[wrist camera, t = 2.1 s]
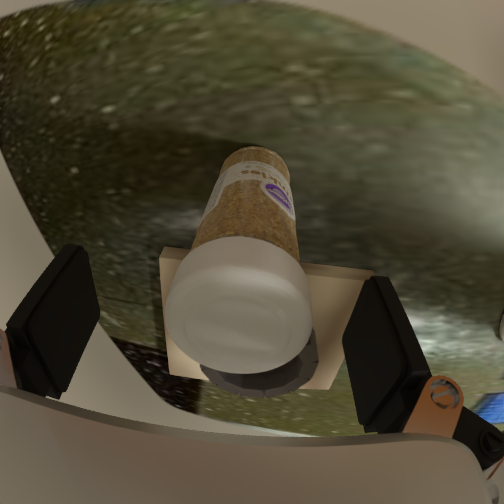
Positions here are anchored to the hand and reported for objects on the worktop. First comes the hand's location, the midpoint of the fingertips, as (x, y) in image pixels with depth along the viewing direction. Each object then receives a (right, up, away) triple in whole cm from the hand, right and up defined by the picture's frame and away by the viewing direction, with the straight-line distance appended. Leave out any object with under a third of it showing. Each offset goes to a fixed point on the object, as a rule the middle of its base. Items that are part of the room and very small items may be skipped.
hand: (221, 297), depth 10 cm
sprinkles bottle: (+1, +6, +10) cm, 12 cm away
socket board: (+2, -5, +17) cm, 18 cm away
